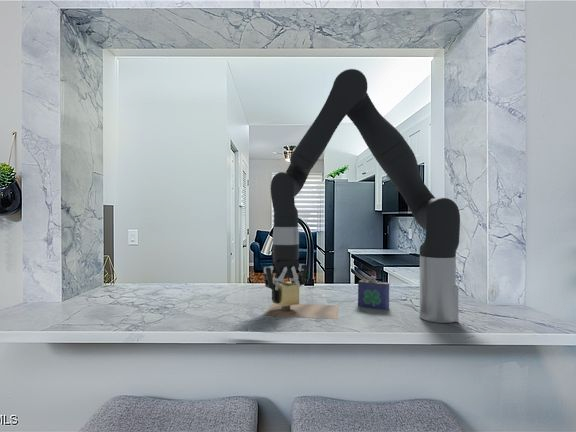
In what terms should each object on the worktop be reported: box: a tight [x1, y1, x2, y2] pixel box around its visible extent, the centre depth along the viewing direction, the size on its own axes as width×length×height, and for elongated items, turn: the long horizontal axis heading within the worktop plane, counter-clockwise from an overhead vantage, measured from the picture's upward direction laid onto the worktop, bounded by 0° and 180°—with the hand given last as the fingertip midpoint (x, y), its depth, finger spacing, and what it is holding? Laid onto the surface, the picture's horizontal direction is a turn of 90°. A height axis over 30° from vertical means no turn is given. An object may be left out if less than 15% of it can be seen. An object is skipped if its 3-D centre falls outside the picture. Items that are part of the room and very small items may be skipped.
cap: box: [271, 281, 300, 307], centre depth 100 cm, size 6×6×6 cm
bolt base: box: [262, 303, 340, 320], centre depth 99 cm, size 20×14×6 cm
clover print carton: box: [357, 275, 390, 310], centre depth 103 cm, size 9×3×11 cm, turn 63°
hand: (285, 301), depth 100 cm, fingers closed on cap, 5 cm apart
